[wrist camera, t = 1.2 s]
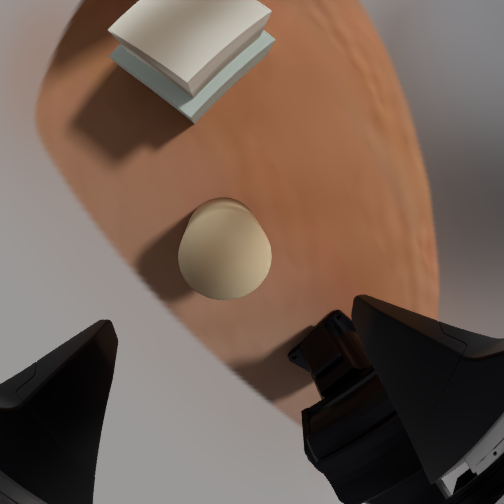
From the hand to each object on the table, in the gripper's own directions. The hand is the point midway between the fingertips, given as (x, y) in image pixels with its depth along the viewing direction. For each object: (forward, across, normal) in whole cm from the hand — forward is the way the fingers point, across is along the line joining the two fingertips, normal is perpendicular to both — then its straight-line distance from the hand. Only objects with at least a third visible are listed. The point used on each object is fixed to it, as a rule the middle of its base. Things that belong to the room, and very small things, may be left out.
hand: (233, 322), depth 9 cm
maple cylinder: (+11, 0, 0) cm, 11 cm away
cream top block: (+8, +1, -13) cm, 15 cm away
